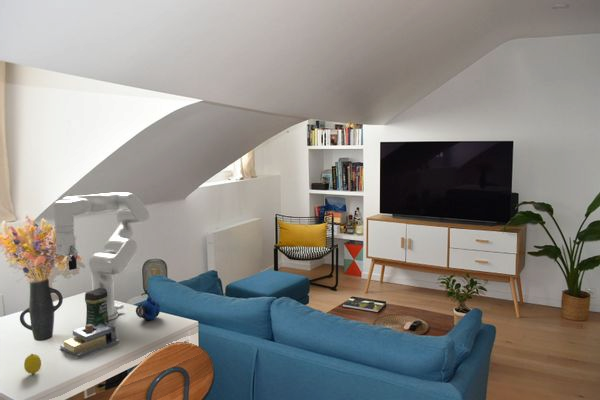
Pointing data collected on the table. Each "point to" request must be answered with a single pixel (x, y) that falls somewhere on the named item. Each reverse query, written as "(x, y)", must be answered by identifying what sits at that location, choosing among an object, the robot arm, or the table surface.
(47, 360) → the table surface
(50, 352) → the table surface
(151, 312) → the bomb
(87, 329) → the walnut pin
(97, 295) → the coffee jar
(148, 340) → the table surface
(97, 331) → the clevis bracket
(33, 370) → the lemon
